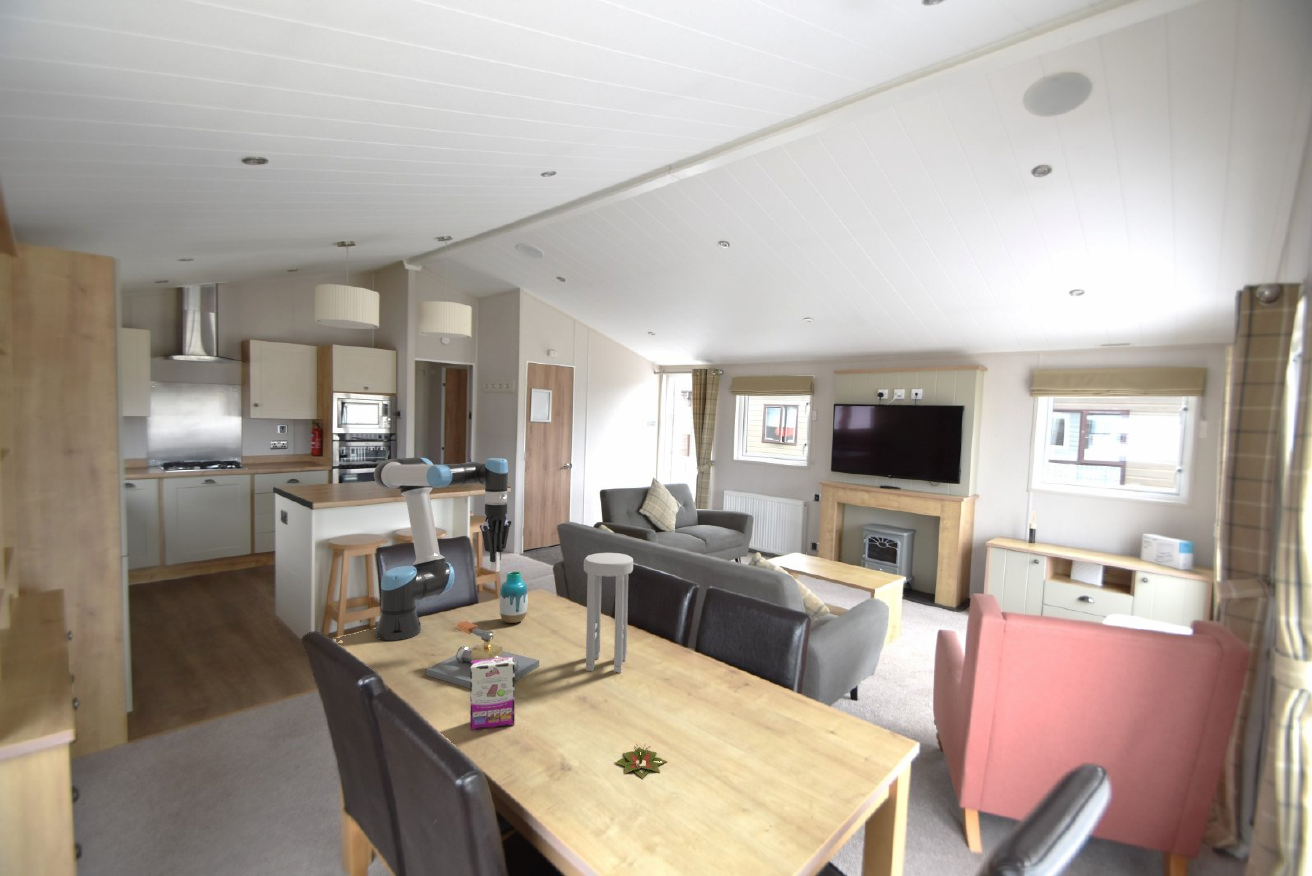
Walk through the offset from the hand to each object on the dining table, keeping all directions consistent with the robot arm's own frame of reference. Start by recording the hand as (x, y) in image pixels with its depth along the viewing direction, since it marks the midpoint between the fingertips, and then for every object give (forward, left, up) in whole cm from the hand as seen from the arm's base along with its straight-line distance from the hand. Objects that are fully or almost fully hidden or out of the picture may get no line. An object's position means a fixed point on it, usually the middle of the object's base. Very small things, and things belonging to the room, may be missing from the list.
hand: (495, 570), depth 204 cm
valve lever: (+7, -17, -16) cm, 24 cm away
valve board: (+11, -17, -26) cm, 33 cm away
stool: (+42, +6, -27) cm, 50 cm away
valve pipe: (+13, -18, -25) cm, 33 cm away
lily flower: (+77, -37, -27) cm, 90 cm away
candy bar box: (+35, -40, -27) cm, 59 cm away
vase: (-10, +22, -27) cm, 36 cm away
